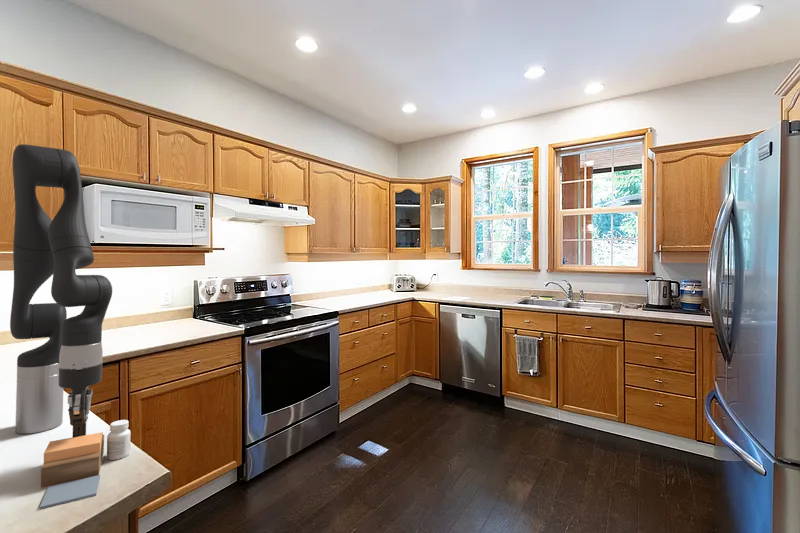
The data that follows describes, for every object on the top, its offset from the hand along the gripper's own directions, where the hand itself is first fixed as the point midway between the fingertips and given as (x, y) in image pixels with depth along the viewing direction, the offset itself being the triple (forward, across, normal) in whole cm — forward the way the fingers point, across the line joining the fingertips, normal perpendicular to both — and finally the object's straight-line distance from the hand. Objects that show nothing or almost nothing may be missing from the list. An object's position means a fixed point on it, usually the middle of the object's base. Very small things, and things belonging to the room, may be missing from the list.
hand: (79, 439), depth 86 cm
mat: (+5, +14, +1) cm, 15 cm away
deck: (+5, +4, 0) cm, 6 cm away
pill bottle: (+5, +2, +7) cm, 9 cm away
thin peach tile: (+1, +4, 0) cm, 5 cm away
